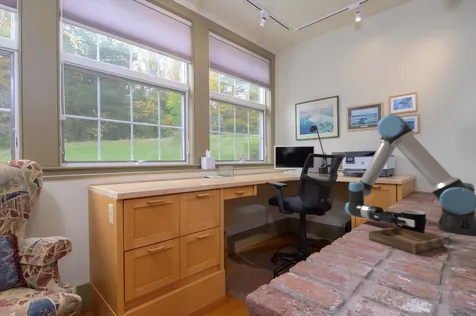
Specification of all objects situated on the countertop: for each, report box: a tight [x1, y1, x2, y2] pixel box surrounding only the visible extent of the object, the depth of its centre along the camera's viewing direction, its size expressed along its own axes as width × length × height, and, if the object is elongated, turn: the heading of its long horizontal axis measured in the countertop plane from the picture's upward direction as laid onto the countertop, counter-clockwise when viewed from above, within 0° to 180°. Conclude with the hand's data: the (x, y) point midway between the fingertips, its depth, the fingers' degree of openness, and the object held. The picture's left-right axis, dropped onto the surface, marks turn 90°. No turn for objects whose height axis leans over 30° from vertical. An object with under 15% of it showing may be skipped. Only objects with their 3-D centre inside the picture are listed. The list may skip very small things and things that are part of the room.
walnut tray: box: [368, 226, 445, 256], centre depth 94 cm, size 18×18×4 cm
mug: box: [395, 209, 427, 234], centre depth 105 cm, size 12×9×10 cm
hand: (420, 222), depth 101 cm, fingers closed on mug, 9 cm apart
